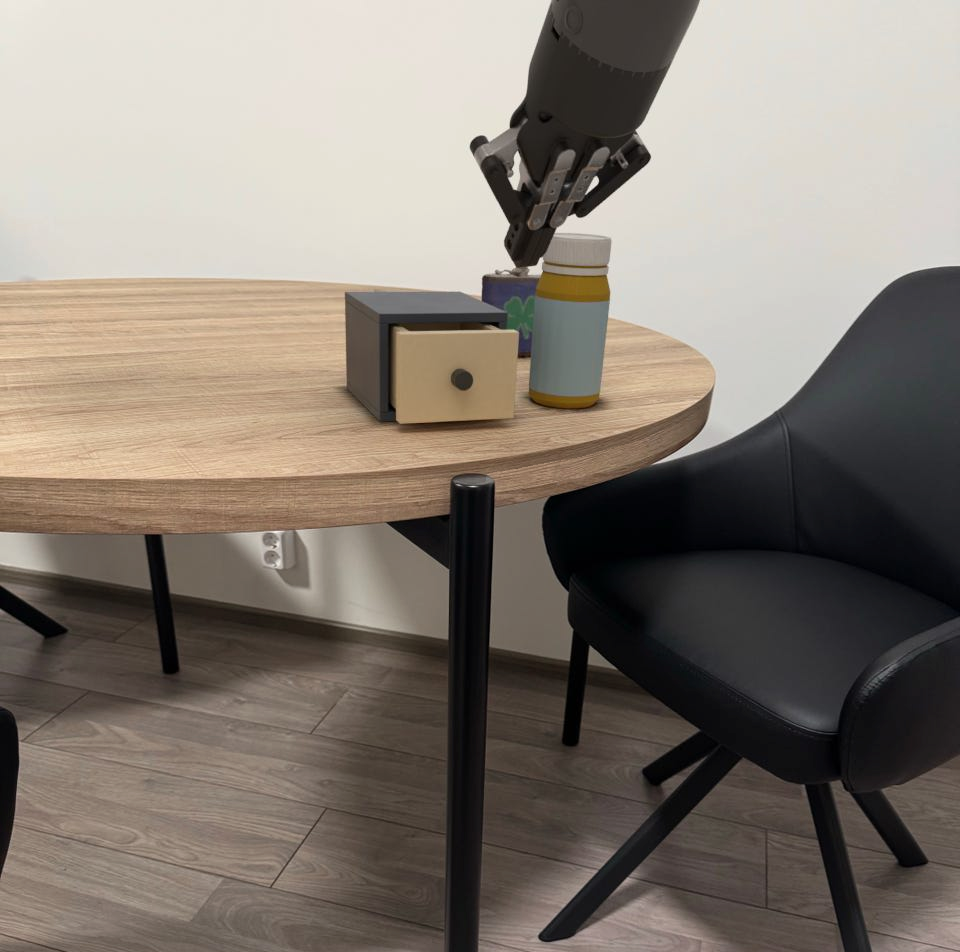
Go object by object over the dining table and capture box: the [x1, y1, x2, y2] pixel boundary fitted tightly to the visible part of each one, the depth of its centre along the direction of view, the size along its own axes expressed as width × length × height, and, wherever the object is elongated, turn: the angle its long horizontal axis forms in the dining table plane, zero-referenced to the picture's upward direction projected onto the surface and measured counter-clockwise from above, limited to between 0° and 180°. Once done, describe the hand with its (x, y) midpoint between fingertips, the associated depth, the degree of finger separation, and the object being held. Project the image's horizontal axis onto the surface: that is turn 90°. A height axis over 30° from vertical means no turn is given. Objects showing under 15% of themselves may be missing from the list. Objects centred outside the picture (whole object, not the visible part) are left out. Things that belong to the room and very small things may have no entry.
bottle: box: [528, 232, 613, 409], centre depth 89 cm, size 7×7×15 cm
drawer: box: [388, 322, 519, 425], centre depth 83 cm, size 13×10×7 cm
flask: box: [481, 266, 541, 358], centre depth 110 cm, size 9×3×11 cm, turn 111°
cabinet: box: [344, 291, 508, 423], centre depth 88 cm, size 13×12×9 cm
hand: (520, 258), depth 67 cm, fingers closed
